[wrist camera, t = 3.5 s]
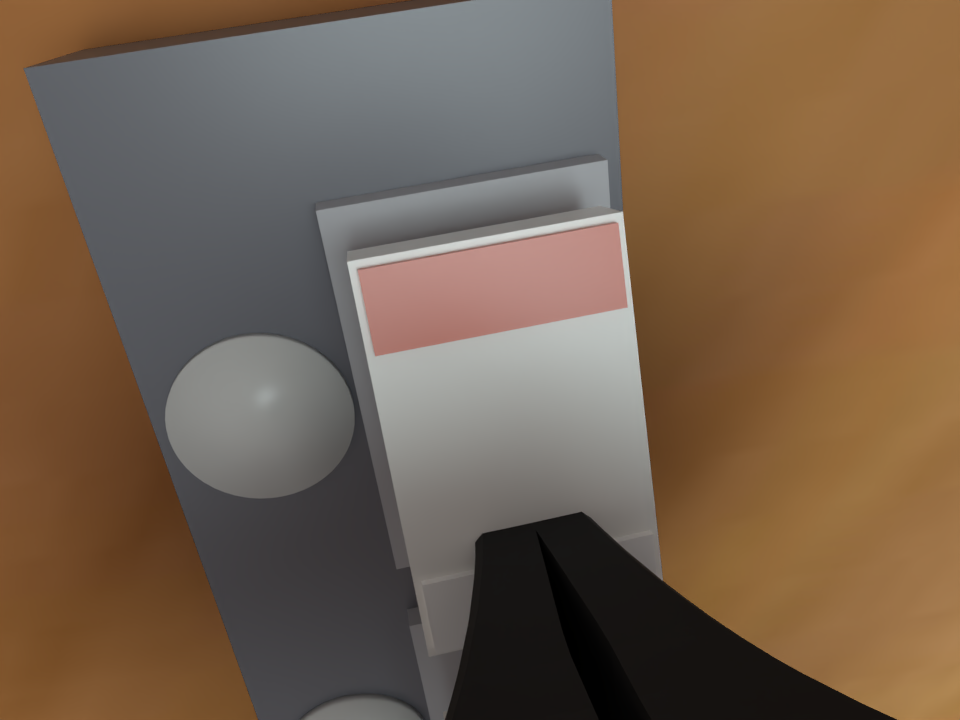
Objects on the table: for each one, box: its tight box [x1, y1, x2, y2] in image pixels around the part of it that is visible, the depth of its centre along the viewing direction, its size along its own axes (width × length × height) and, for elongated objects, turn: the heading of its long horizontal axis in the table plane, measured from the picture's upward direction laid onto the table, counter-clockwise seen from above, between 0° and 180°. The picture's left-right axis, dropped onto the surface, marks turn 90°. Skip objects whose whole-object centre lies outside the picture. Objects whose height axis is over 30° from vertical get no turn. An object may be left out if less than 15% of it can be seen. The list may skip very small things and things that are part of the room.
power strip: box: [24, 0, 623, 720], centre depth 15 cm, size 19×7×4 cm, turn 8°
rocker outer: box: [347, 206, 663, 657], centre depth 10 cm, size 5×3×1 cm, turn 8°
